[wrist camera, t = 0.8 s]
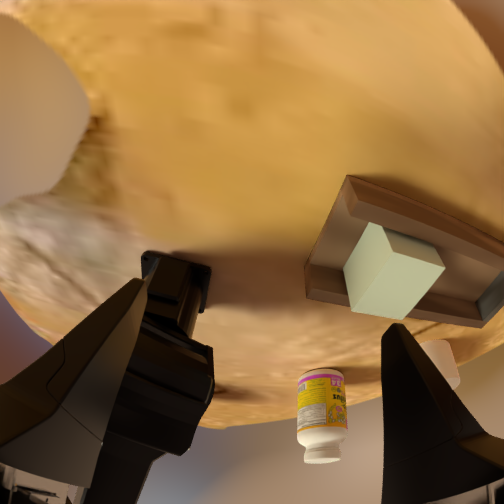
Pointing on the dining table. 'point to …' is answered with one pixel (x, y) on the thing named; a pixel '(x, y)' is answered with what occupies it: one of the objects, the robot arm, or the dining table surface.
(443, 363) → the cylinder with rectangular tab
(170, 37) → the dining table surface
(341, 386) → the supplement bottle
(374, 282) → the block
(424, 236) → the chute
